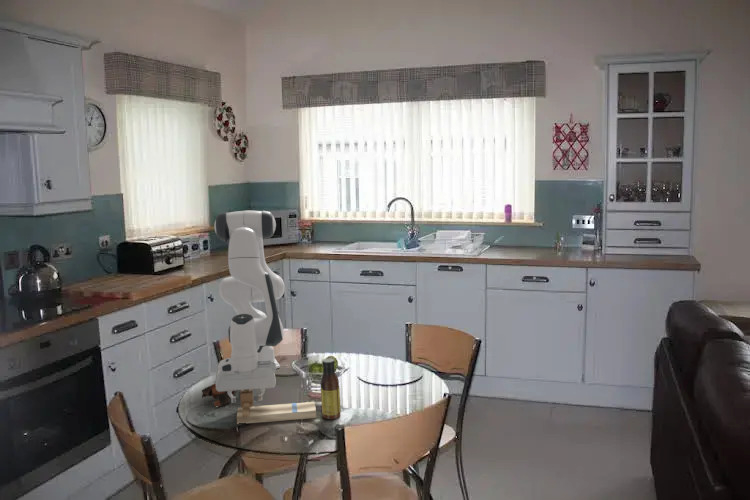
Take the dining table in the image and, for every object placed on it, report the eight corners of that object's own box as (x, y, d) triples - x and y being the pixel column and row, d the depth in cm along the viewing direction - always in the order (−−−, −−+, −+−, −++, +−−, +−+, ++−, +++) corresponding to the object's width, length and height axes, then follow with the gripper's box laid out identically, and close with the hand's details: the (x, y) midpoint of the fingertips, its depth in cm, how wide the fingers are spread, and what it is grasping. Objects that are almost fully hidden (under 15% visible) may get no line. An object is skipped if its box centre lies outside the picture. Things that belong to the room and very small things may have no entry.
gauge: (242, 408, 237) (240, 386, 235) (253, 407, 237) (252, 386, 236) (239, 426, 222) (238, 403, 221) (252, 425, 223) (251, 402, 221)
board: (238, 414, 231) (237, 407, 231) (314, 408, 235) (314, 401, 234) (237, 424, 223) (236, 416, 223) (316, 417, 227) (316, 410, 227)
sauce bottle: (331, 411, 232) (329, 355, 229) (344, 415, 228) (342, 358, 225) (317, 417, 227) (315, 360, 224) (331, 422, 223) (329, 364, 220)
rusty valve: (208, 411, 236) (199, 389, 237) (207, 414, 244) (199, 392, 246) (240, 397, 240) (232, 375, 241) (239, 400, 248) (230, 379, 250)
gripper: (275, 357, 236) (277, 395, 238) (215, 361, 233) (217, 400, 235) (275, 363, 230) (277, 402, 232) (213, 367, 227) (216, 406, 229)
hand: (247, 401), depth 234 cm, fingers open, 8 cm apart
